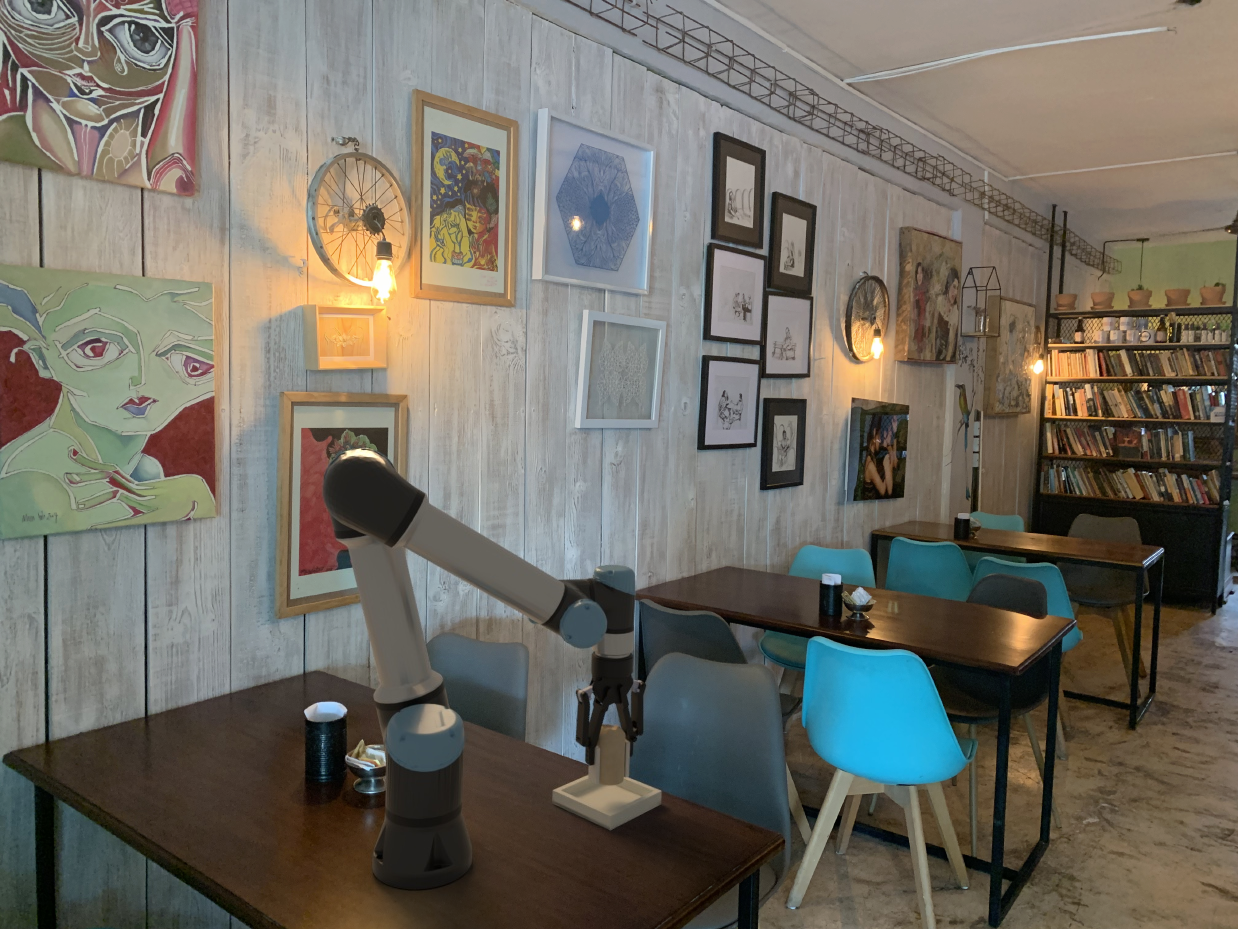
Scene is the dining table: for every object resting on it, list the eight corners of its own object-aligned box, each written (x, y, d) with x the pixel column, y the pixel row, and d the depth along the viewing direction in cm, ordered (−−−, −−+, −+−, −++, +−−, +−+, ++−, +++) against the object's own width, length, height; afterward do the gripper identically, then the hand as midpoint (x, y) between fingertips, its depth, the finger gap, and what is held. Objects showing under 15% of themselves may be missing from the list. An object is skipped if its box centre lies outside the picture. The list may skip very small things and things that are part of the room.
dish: (661, 804, 161) (661, 790, 160) (610, 830, 150) (610, 816, 150) (604, 780, 170) (604, 767, 170) (552, 803, 159) (552, 790, 159)
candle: (625, 774, 162) (626, 721, 161) (622, 787, 157) (624, 732, 156) (595, 772, 163) (597, 719, 162) (591, 784, 157) (593, 730, 156)
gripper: (644, 641, 166) (640, 760, 168) (556, 653, 156) (553, 779, 158) (667, 651, 160) (662, 775, 161) (576, 664, 150) (573, 796, 152)
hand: (608, 777), depth 160 cm, fingers closed on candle, 5 cm apart
